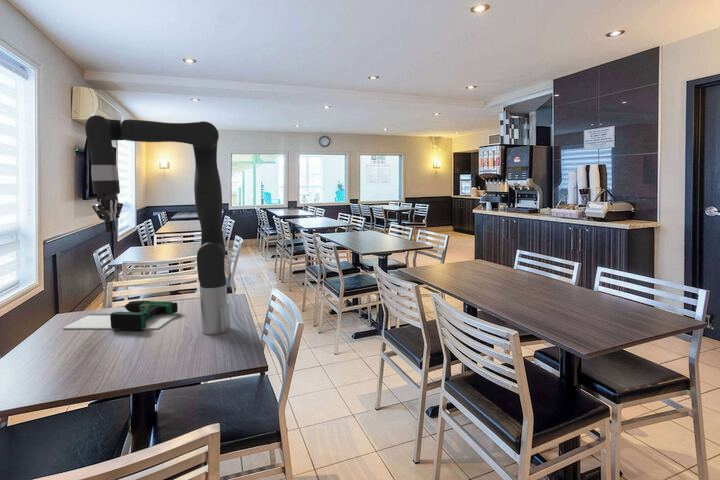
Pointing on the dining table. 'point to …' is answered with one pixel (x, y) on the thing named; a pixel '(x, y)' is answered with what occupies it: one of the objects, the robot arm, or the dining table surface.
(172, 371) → the dining table surface
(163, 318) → the mat
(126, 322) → the power drill
